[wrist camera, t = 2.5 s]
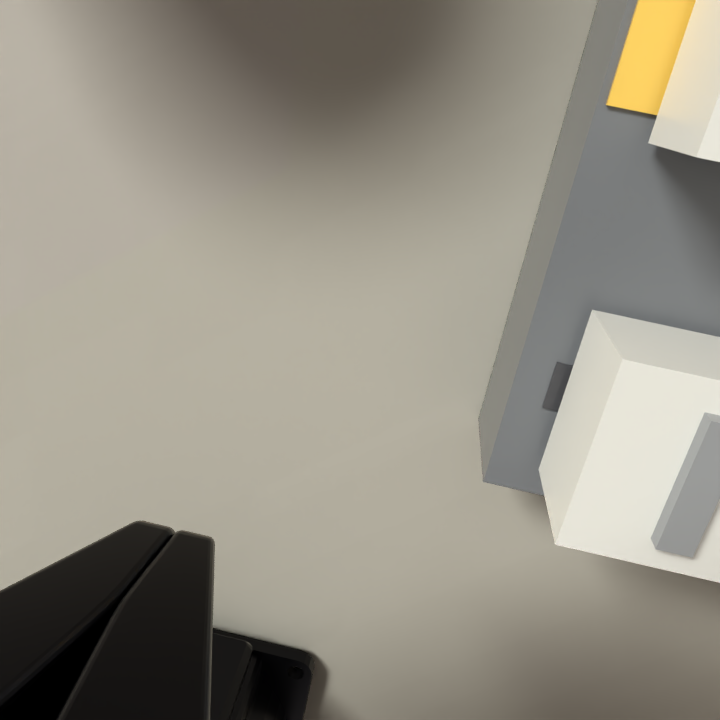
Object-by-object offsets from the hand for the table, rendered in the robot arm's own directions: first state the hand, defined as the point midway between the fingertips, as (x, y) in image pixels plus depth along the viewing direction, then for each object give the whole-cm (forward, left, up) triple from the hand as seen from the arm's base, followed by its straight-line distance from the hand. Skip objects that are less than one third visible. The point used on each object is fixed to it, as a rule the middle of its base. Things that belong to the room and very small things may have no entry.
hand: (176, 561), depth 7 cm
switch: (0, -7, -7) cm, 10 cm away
